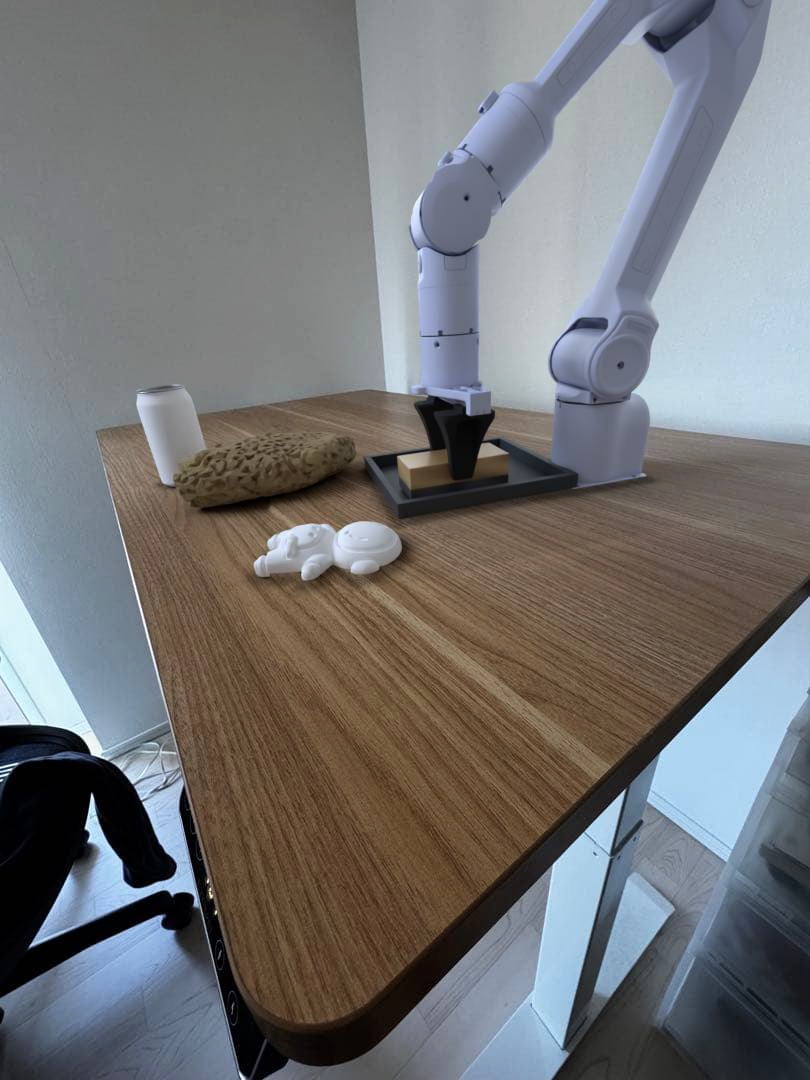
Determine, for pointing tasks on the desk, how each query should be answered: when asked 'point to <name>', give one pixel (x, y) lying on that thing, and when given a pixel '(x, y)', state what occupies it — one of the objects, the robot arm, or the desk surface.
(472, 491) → the tray
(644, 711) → the desk surface
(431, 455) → the eraser
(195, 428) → the can
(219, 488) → the sponge
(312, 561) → the astronaut figurine
